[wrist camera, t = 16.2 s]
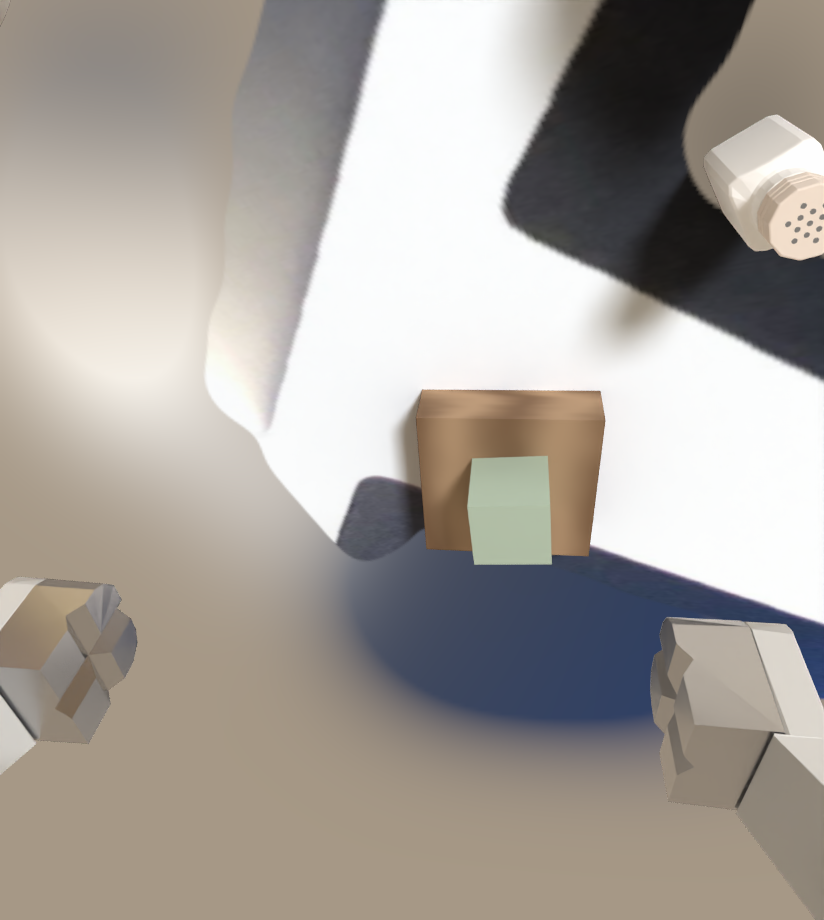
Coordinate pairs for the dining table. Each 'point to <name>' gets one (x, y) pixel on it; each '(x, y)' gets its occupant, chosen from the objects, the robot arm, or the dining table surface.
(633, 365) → the dining table surface
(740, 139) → the salt shaker
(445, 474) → the walnut block
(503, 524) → the green cube
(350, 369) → the dining table surface
